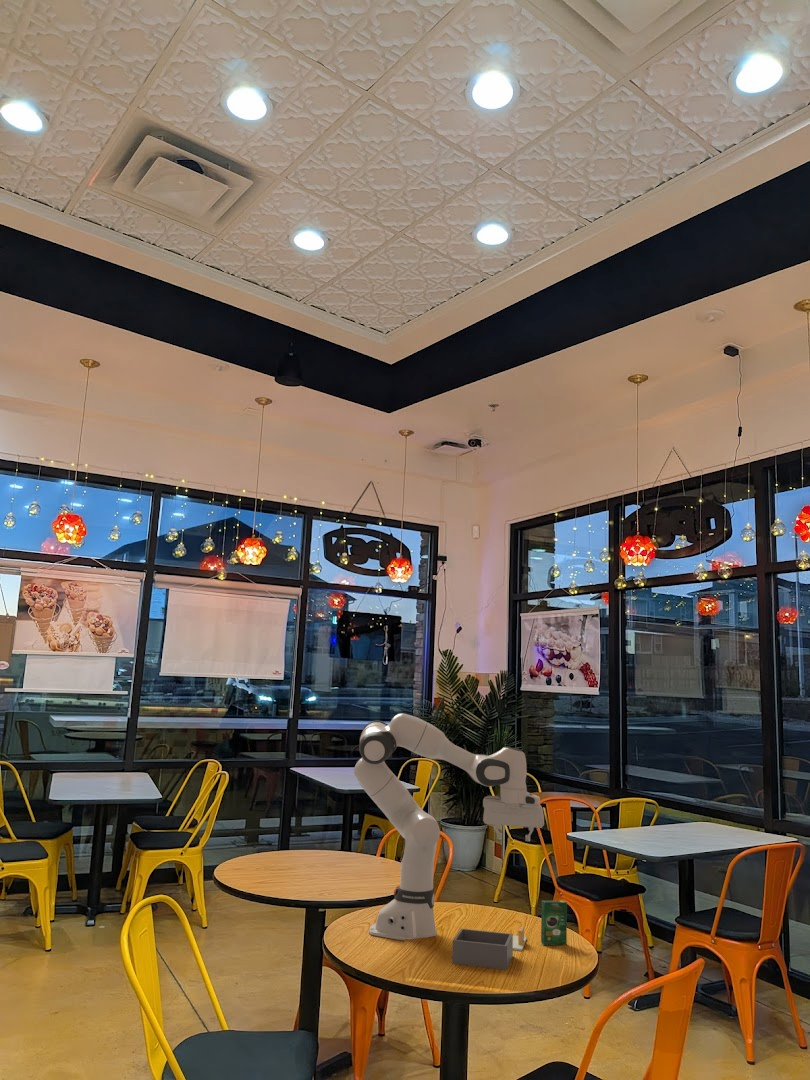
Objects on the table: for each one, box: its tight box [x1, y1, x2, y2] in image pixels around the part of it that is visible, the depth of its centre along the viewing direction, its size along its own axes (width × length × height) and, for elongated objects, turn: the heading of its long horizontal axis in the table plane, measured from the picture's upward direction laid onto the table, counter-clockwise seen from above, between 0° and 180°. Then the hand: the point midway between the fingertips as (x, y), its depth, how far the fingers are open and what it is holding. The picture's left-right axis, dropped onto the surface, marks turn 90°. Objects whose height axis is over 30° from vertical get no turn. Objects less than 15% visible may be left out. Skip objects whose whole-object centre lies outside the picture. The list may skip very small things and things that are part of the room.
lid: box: [513, 926, 528, 952], centre depth 248 cm, size 16×13×6 cm
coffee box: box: [540, 900, 568, 946], centre depth 250 cm, size 8×3×13 cm, turn 102°
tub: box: [451, 928, 514, 971], centre depth 230 cm, size 16×13×7 cm
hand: (513, 840), depth 258 cm, fingers open, 8 cm apart
